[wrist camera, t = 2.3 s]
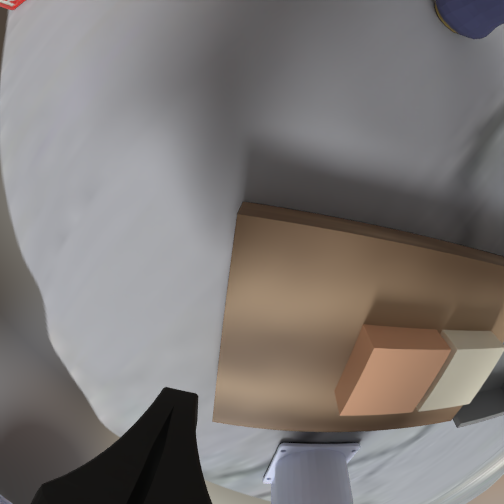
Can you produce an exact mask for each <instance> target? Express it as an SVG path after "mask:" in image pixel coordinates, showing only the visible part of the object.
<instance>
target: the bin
mask: <svg viewBox="0 0 504 504" xmlns="http://www.w3.org/2000/svg"><path fill="white" fill-rule="evenodd" d="M503 345H504V342H503ZM501 415H504V352H503V353H502V355H501V357H500V359H499V360H498V362H497V364H496V365H495V367H494V368H493V370H492V372H491V373H490V375H489V376H488V378H487V379H486V381H485V382H484V384H483V385H482V387H481V388H480V390H479V391H478V393H477V394H476V395H475V397H474V398H473V399H472V401H471V402H470V404H466V405H463V406H462V407H461V408H460V410H459V411H458V412H457V414H456V415H455V416H454V417H453V421H454V423H455V425H456V427H457V428H459V427H463V426H467V425H471V424H475V423H478V422H482V421H485V420H489V419H492V418H495V417H498V416H501Z"/></svg>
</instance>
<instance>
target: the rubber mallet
mask: <svg viewBox="0 0 504 504" xmlns="http://www.w3.org/2000/svg"><path fill="white" fill-rule="evenodd" d="M435 9H436V12H437V14H438V17H439V18H440V19H441V21H442V22H443V23H444V25H445V26H446V27H448V28H449V29H450V30H451V31H453V32H454V33H457V34H460V35H463V36H465V37H468V38H472V39H480V38H483V37H486V36H487V35H488V34H489V33H491V32H492V31H493V30H494V29H495V28H496V27H498V26H499V25H501V24H503V23H504V0H436V2H435Z"/></svg>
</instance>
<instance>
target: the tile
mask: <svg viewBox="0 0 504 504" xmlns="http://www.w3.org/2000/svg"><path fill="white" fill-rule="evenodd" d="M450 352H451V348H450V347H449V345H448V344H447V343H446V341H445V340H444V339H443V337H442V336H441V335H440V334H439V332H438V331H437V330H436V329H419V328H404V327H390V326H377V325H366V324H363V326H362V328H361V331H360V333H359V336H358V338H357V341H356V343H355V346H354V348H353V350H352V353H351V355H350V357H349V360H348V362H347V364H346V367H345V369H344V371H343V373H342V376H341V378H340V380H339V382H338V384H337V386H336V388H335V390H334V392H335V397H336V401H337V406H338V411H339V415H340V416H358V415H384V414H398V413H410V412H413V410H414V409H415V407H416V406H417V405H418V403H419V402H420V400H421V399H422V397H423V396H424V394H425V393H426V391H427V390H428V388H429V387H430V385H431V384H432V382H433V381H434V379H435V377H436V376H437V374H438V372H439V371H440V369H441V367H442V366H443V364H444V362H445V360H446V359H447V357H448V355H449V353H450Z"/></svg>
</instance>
